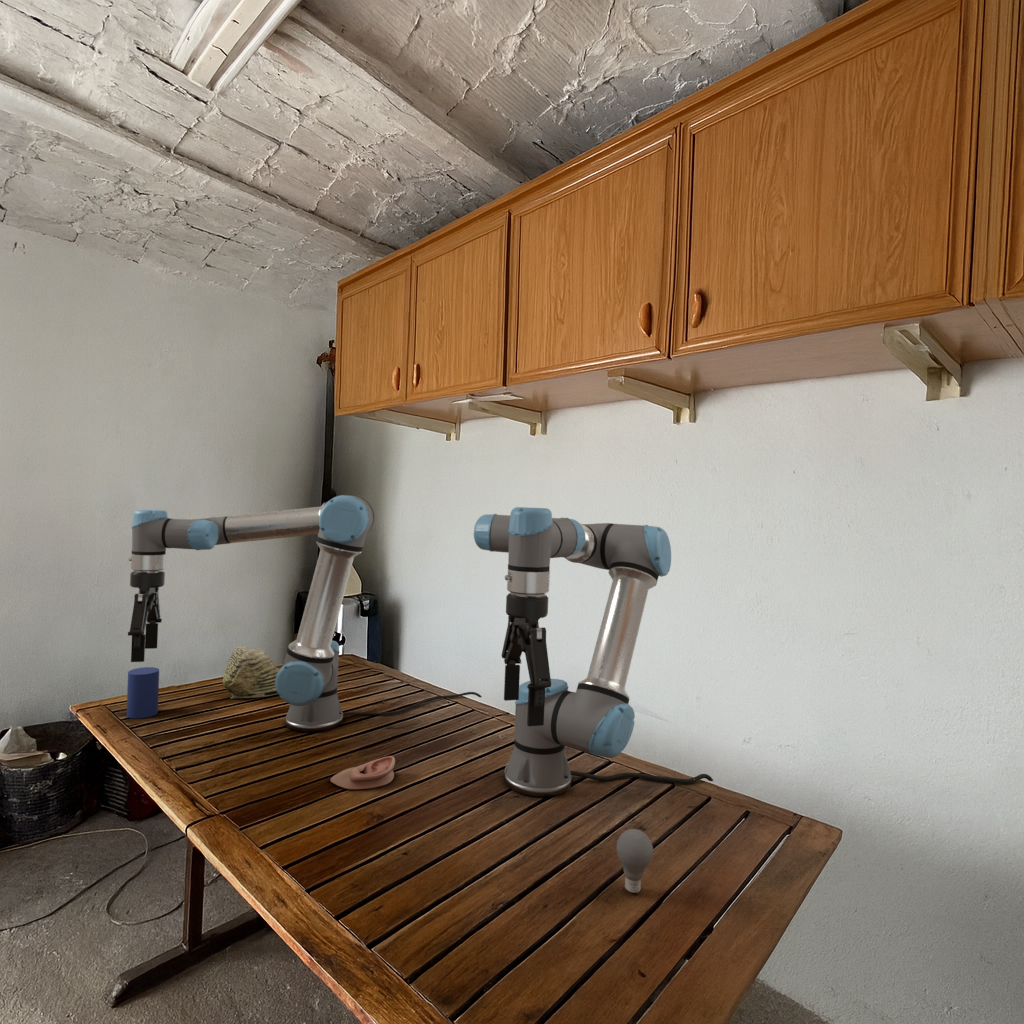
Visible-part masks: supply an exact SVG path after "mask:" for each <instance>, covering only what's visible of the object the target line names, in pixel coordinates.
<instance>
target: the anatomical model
mask: <svg viewBox="0 0 1024 1024" xmlns="http://www.w3.org/2000/svg"><path fill="white" fill-rule="evenodd" d="M395 765H396V759H395V757H394V756H392V755H387V756H384V757H380V758H376V759H373V760H370V761H368V762H364V763H362V764H360V765H358V766H353V767H349V768H346V769H343V770H341V771H339V772H337V773H335V774H334V775H333V776H332V777H330V783H333V785H336V786H338V787H340V788H343V789H345V790H364V789H374V788H377V787H382V786H385V785H388V784H390V783H391V782H392V781H393V779H394V777H395V771H394V768H395Z"/></svg>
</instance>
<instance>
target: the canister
mask: <svg viewBox="0 0 1024 1024" xmlns="http://www.w3.org/2000/svg"><path fill="white" fill-rule="evenodd" d="M126 689H127V690H126V691H127V693H126V698H127V699H126V717H127V718H129V719H145V718H146V719H147V718H150V717H154V716H155V715H157V714H158V712H159V693H160V692H159V691H160V690H159V689H160V668H158V667H152V666H150V667H149V666H145V667H137V668H132V669H130V670H129V671H127V687H126Z"/></svg>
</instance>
